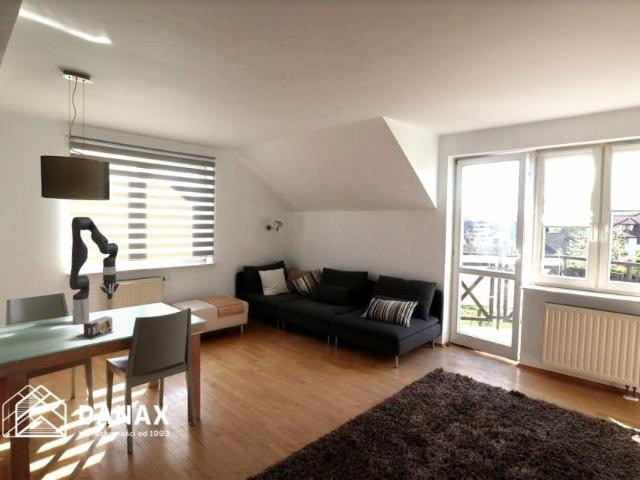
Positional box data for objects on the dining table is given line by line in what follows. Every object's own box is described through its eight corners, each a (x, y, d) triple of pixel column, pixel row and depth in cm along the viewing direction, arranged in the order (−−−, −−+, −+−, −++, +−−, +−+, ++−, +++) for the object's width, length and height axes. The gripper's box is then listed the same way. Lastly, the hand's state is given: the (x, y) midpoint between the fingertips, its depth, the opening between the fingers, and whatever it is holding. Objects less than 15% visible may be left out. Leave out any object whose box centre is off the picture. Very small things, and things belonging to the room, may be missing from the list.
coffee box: (113, 330, 235) (91, 338, 219) (105, 329, 236) (83, 337, 221) (112, 316, 234) (91, 324, 218) (104, 315, 236) (82, 323, 220)
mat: (76, 336, 223) (76, 336, 223) (98, 329, 237) (98, 328, 237) (92, 339, 218) (92, 339, 218) (113, 332, 232) (113, 331, 232)
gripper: (114, 271, 242) (114, 296, 243) (96, 274, 230) (96, 300, 231) (122, 272, 239) (122, 297, 241) (104, 275, 227) (104, 301, 228)
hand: (109, 298), depth 236 cm, fingers closed
